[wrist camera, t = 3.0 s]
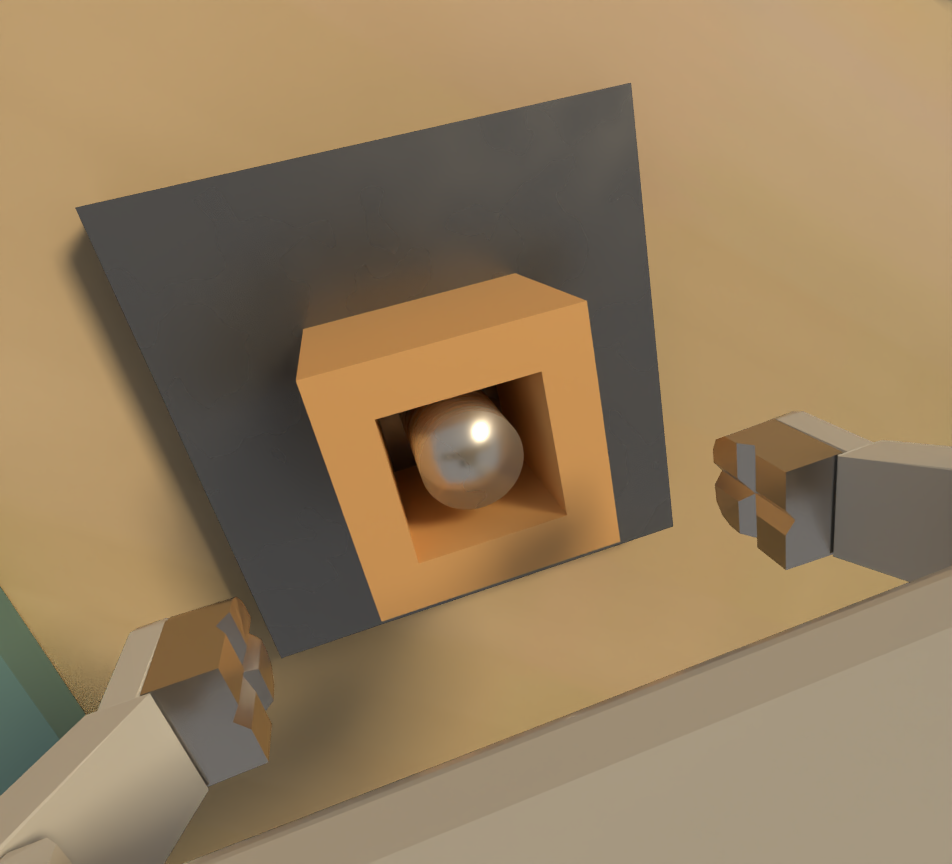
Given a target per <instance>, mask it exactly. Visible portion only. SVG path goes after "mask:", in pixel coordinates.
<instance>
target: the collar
mask: <svg viewBox="0 0 952 864" xmlns="http://www.w3.org/2000/svg"><path fill="white" fill-rule="evenodd" d="M296 383H297V385H298V388H299V391H300V394H301V397H302V399H303V402H304V405H305V408H306V411H307V414H308V416H309V419H310V422H311V425H312V428H313V430H314V433H315V436H316V439H317V442H318V444H319V447H320V450H321V453H322V456H323V458H324V461H325V464H326V467H327V470H328V472H329V475H330V478H331V481H332V484H333V487H334V489H335V492H336V495H337V498H338V501H339V503H340V506H341V509H342V512H343V515H344V517H345V520H346V523H347V526H348V529H349V531H350V534H351V537H352V540H353V543H354V545H355V548H356V551H357V554H358V557H359V560H360V562H361V565H362V568H363V571H364V574H365V576H366V579H367V582H368V585H369V588H370V590H371V593H372V596H373V599H374V602H375V604H376V607H377V610H378V613H379V616H380V619H381V621H385V620H388V619H391V618H394V617H397V616H400V615H403V614H406V613H409V612H412V611H415V610H418V609H421V608H424V607H427V606H430V605H433V604H436V603H439V602H442V601H445V600H448V599H451V598H454V597H457V596H460V595H463V594H466V593H469V592H472V591H475V590H478V589H481V588H484V587H487V586H490V585H493V584H496V583H499V582H501V581H504V580H507V579H510V578H513V577H516V576H519V575H522V574H525V573H528V572H531V571H534V570H537V569H540V568H543V567H546V566H549V565H552V564H555V563H558V562H561V561H564V560H567V559H570V558H573V557H576V556H579V555H582V554H585V553H588V552H591V551H594V550H597V549H600V548H603V547H606V546H609V545H612V544H615V543H618V542H620V536H619V528H618V521H617V514H616V507H615V500H614V493H613V485H612V478H611V471H610V464H609V457H608V449H607V442H606V435H605V428H604V421H603V413H602V406H601V399H600V392H599V385H598V377H597V370H596V363H595V356H594V349H593V341H592V334H591V327H590V320H589V313H588V305H587V301H586V300H584V299H581V298H578V297H576V296H573V295H571V294H568V293H565V292H563V291H560V290H558V289H555V288H552V287H550V286H547V285H545V284H542V283H539V282H537V281H534V280H532V279H529V278H526V277H524V276H521V275H519V274H516V273H514V274H510V275H507V276H503V277H499V278H495V279H491V280H488V281H484V282H480V283H476V284H472V285H469V286H465V287H461V288H457V289H453V290H450V291H446V292H442V293H438V294H435V295H431V296H427V297H423V298H419V299H416V300H412V301H408V302H404V303H400V304H397V305H393V306H389V307H385V308H381V309H378V310H374V311H370V312H366V313H362V314H359V315H355V316H351V317H347V318H344V319H340V320H336V321H332V322H328V323H325V324H321V325H317V326H313V327H309V328H306V329H303V334H302V341H301V348H300V355H299V362H298V369H297V376H296ZM493 385H496V387H497V392H498V397H499V401H500V406H501V411H502V414H503V416H504V417H505V418H506V419H507V420H508V422H509V423H510V424H511V425H512V426H513V428H514V429H515V430H516V432H517V433H518V435H519V437H520V439H521V442H522V445H523V452H524V460H523V466H522V470H521V473H520V475H519V477H518V479H517V481H516V483H515V484H514V485H513V487H512V488H511V489H510V490H509V491H508V492H507V493H506V494H505V495H504V496H503V497H502V498H500V499H499V500H497V501H496V502H494V503H492V504H490V505H487V506H485V507H481V508H477V509H456V508H452V507H449V506H446V505H444V504H442V503H441V502H439V501H438V500H436V499H435V498H434V497H433V496H432V495H431V494H430V493H429V492H428V490H427V489H426V487H425V485H424V483H423V481H422V478H421V475H420V472H419V469H418V467H417V465H416V466H413V467H410V468H406V469H403V470H400V471H396V472H394V469H393V466H392V462H391V459H390V456H389V453H388V449H387V446H386V443H385V440H384V436H383V433H382V430H381V426H380V423H379V420H378V419H379V418H382V417H386V416H389V415H393V414H396V413H400V412H403V411H407V410H410V409H413V408H417V407H420V406H424V405H427V404H431V403H434V402H438V401H441V400H445V399H448V398H452V397H455V396H458V395H462V394H465V393H469V392H472V391H476V390H479V389H483V388H486V387H490V386H493Z"/></svg>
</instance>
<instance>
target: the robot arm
mask: <svg viewBox="0 0 952 864" xmlns="http://www.w3.org/2000/svg"><path fill="white" fill-rule="evenodd" d="M713 456H714V463H715V464H716V465H717V466H718V467H719V468H720V469H721V470H722V472H721V474H720V476H719V478H718V480H717V481H716V483H715V490H716V500H717V503H718V506H719V508H720V510H721V513H722V515H723V517H724V518H725V519H726V521H727V522H728V523H729V525H730V526H731V527H733V528H734V529H735V530H736V531H737V532H739V533H740V534H744V535H748V536H752V537H756V538H757V547H758V548H759V549H760V550H761V551H762V552H764V553H765V554H766V555H767V556H769V557H770V558H771V559H773V560H774V561H775V562H776V563H778V564H779V565H780V566H781V567H783V568H784V569H785V570H787V569H790V568H793V567H796V566H799V565H802V564H805V563H808V562H811V561H814V560H817V559H820V558H823V557H826V556H829V555H832V554H833V556H834V557H837V558H840V559H843V560H846V561H849V562H851V563H854V564H857V565H860V566H863V567H866V568H869V569H872V570H875V571H878V572H881V573H884V574H887V575H890V576H893V577H896V578H899V579H902V580H905V581H908V582H909V583H906V584H903V585H901V586H898V587H896V588H893V589H890V590H888V591H885V592H883V593H880V594H878V595H875V596H872V597H870V598H867V599H865V600H862V601H859V602H857V603H854V604H852V605H849V606H846V607H844V608H841V609H839V610H836V611H834V612H831V613H828V614H826V615H823V616H821V617H818V618H815V619H813V620H810V621H808V622H805V623H803V624H800V625H797V626H795V627H792V628H790V629H787V630H784V631H782V632H779V633H777V634H774V635H772V636H769V637H766V638H764V639H761V640H759V641H756V642H753V643H751V644H748V645H746V646H743V647H741V648H738V649H735V650H733V651H730V652H728V653H725V654H722V655H720V656H717V657H715V658H712V659H710V660H707V661H704V662H702V663H699V664H697V665H694V666H692V667H689V668H686V669H684V670H681V671H679V672H676V673H674V674H671V675H668V676H666V677H663V678H661V679H658V680H656V681H653V682H650V683H648V684H645V685H643V686H640V687H638V688H635V689H633V690H630V691H627V692H625V693H622V694H620V695H617V696H615V697H612V698H609V699H607V700H604V701H602V702H599V703H597V704H594V705H591V706H589V707H586V708H584V709H581V710H579V711H576V712H574V713H571V714H568V715H566V716H563V717H561V718H558V719H555V720H553V721H550V722H548V723H545V724H543V725H540V726H537V727H535V728H532V729H530V730H527V731H524V732H522V733H519V734H517V735H514V736H512V737H509V738H506V739H504V740H501V741H499V742H496V743H494V744H491V745H488V746H486V747H483V748H481V749H478V750H475V751H473V752H470V753H468V754H465V755H463V756H460V757H457V758H455V759H452V760H450V761H447V762H444V763H442V764H439V765H437V766H434V767H432V768H429V769H426V770H424V771H421V772H419V773H416V774H413V775H411V776H408V777H406V778H403V779H401V780H398V781H395V782H393V783H390V784H388V785H385V786H383V787H380V788H377V789H375V790H372V791H370V792H367V793H364V794H362V795H359V796H357V797H354V798H352V799H349V800H346V801H344V802H341V803H339V804H336V805H333V806H331V807H328V808H326V809H323V810H321V811H318V812H315V813H313V814H310V815H308V816H305V817H303V818H300V819H297V820H295V821H292V822H290V823H287V824H284V825H282V826H279V827H277V828H274V829H272V830H269V831H266V832H264V833H261V834H259V835H256V836H253V837H251V838H248V839H246V840H243V841H241V842H238V843H235V844H233V845H230V846H228V847H225V848H222V849H220V850H217V851H215V852H212V853H210V854H207V855H204V856H202V857H199V858H197V859H194V860H192V861H189V862H186V863H184V864H952V447H950V446H940V445H930V444H919V443H909V442H898V441H888V440H881V441H878V442H875V443H874V442H871V441H869V440H867V439H864V438H862V437H860V436H858V435H855V434H853V433H851V432H849V431H846V430H844V429H842V428H840V427H837V426H835V425H833V424H831V423H828V422H826V421H824V420H821V419H819V418H817V417H815V416H812V415H810V414H808V413H806V412H803V411H792V412H790V413H787V414H784V415H782V416H779V417H776V418H774V419H771V420H768V421H766V422H763V423H761V424H758V425H755V426H752V427H750V428H747V429H744V430H741V431H738V432H736V433H733V434H730V435H727V436H724V437H722V438H719V439H716V441H715V445H714V448H713ZM250 621H251V617H250V615H249V613H248V611H247V609H246V607H245V605H244V603H243V602H242V601H241V600H240V599H238V598H237V597H234V598H231V599H227V600H224V601H221V602H218V603H214V604H211V605H208V606H205V607H202V608H198V609H195V610H192V611H189V612H185V613H182V614H179V615H176V616H172V617H170V618H165V619H162V620H159V621H156V622H153V623H150V624H148V625H145V626H142V627H139V628H137V629H135V630H133V631H132V632H130V634H129V636H128V638H127V640H126V643H125V645H124V648H123V650H122V652H121V655H120V657H119V660H118V662H117V664H116V667H115V669H114V671H113V674H112V676H111V679H110V681H109V683H108V686H107V688H106V691H105V693H104V695H103V698H102V700H101V703H100V705H99V707H98V710H97V711H96V712H93V713H90V714H88V715H85V716H84V717H83V718H82V719H81V720H80V721H79V722H78V723H77V724H76V725H75V726H73V727H72V728H71V729H70V730H69V731H68V732H67V733H66V734H65V735H64V736H63V737H62V738H61V739H60V740H59V741H58V742H57V743H56V744H55V745H53V746H52V747H51V748H50V749H49V750H48V751H47V752H46V753H45V754H44V755H43V756H42V757H41V758H40V759H39V760H38V761H37V762H36V763H35V764H34V765H32V766H31V767H30V768H29V769H28V770H27V771H26V772H25V773H24V774H23V775H22V776H21V777H20V778H19V779H18V780H17V781H16V782H15V783H14V784H12V785H11V786H10V787H9V788H8V789H7V790H6V791H5V792H4V793H3V794H2V795H1V796H0V864H164V863H165V861H166V860H167V858H168V856H169V855H170V853H171V851H172V850H173V848H174V846H175V845H176V843H177V841H178V840H179V838H180V837H181V835H182V833H183V832H184V830H185V828H186V827H187V825H188V823H189V822H190V820H191V818H192V817H193V815H194V813H195V812H196V810H197V808H198V807H199V805H200V804H201V802H202V800H203V799H204V797H205V795H206V794H207V792H208V790H209V789H208V786H211V785H213V784H216V783H218V782H221V781H223V780H226V779H228V778H231V777H233V776H236V775H238V774H240V773H243V772H245V771H248V770H250V769H253V768H255V767H258V766H260V765H263V764H265V763H268V762H269V753H270V740H271V728H272V723H271V721H270V719H269V717H268V715H267V713H266V710H267V708H268V707H269V706H270V704H271V703H272V702H273V700H274V678H273V671H272V665H271V662H270V659H269V656H268V653H267V650H266V648H265V646H264V644H263V642H262V639H260V638H258V637H256V636H253V635H251V634H249V628H250Z"/></svg>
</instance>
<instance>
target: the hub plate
mask: <svg viewBox="0 0 952 864" xmlns="http://www.w3.org/2000/svg"><path fill="white" fill-rule="evenodd" d="M85 715H86V714H85V713H84V711H83V710H82V708H81V707H80V705H79V704H78V702H77V701H76V699H75V698H74V696H73V695H72V693H71V692H70V690H69V689H68V687H67V686H66V684H65V683H64V681H63V680H62V678H61V677H60V675H59V674H58V672H57V671H56V669H55V668H54V666H53V665H52V663H51V662H50V660H49V659H48V657H47V656H46V654H45V653H44V651H43V650H42V648H41V647H40V645H39V644H38V642H37V641H36V639H35V638H34V636H33V635H32V633H31V632H30V630H29V629H28V627H27V626H26V624H25V623H24V621H23V620H22V618H21V617H20V615H19V614H18V612H17V611H16V609H15V608H14V606H13V605H12V603H11V602H10V600H9V599H8V597H7V596H6V594H5V593H4V591H3V590H2V588H1V587H0V796H1V795H2V794H3V793H4V792H5V791H6V790H7V789H8V788H9V787H10V786H11V785H12V784H14V783H15V782H16V781H17V780H18V779H19V778H20V777H21V776H22V775H23V774H24V773H25V772H26V771H27V770H28V769H29V768H30V767H31V766H32V765H34V764H35V763H36V762H37V761H38V760H39V759H40V758H41V757H42V756H43V755H44V754H45V753H46V752H47V751H48V750H49V749H50V748H51V747H52V746H53V745H55V744H56V743H57V742H58V741H59V740H60V739H61V738H62V737H63V736H64V735H65V734H66V733H67V732H68V731H69V730H70V729H71V728H72V727H73V726H75V725H76V724H77V723H78V722H79V721H80V720H81V719H82V718H83V717H84V716H85Z"/></svg>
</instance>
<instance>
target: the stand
mask: <svg viewBox="0 0 952 864" xmlns="http://www.w3.org/2000/svg"><path fill="white" fill-rule="evenodd" d="M76 210H77V212H78V215H79V217H80V219H81V221H82V223H83V226H84V228H85V230H86V232H87V234H88V236H89V239H90V241H91V243H92V245H93V247H94V250H95V252H96V254H97V256H98V258H99V261H100V263H101V265H102V267H103V269H104V271H105V274H106V276H107V278H108V280H109V282H110V285H111V287H112V289H113V291H114V293H115V295H116V298H117V300H118V302H119V304H120V306H121V309H122V311H123V313H124V315H125V317H126V319H127V322H128V324H129V326H130V328H131V330H132V333H133V335H134V337H135V339H136V341H137V344H138V346H139V348H140V350H141V352H142V354H143V357H144V359H145V361H146V363H147V365H148V368H149V370H150V372H151V374H152V376H153V378H154V381H155V383H156V385H157V387H158V389H159V392H160V394H161V396H162V398H163V400H164V403H165V405H166V407H167V409H168V411H169V413H170V416H171V418H172V420H173V422H174V424H175V427H176V429H177V431H178V433H179V435H180V437H181V440H182V442H183V444H184V446H185V448H186V451H187V453H188V455H189V457H190V459H191V462H192V464H193V466H194V468H195V470H196V472H197V475H198V477H199V479H200V481H201V483H202V486H203V488H204V490H205V492H206V494H207V496H208V499H209V501H210V503H211V505H212V507H213V510H214V512H215V514H216V516H217V518H218V521H219V523H220V525H221V527H222V529H223V531H224V534H225V536H226V538H227V540H228V542H229V545H230V547H231V549H232V551H233V553H234V555H235V558H236V560H237V562H238V564H239V566H240V569H241V571H242V573H243V575H244V577H245V580H246V582H247V584H248V586H249V588H250V590H251V593H252V595H253V597H254V599H255V601H256V604H257V606H258V608H259V610H260V612H261V614H262V617H263V619H264V621H265V623H266V625H267V628H268V630H269V632H270V634H271V636H272V639H273V641H274V643H275V645H276V647H277V649H278V652H279V654H280V656H281V658H283V657H286V656H289V655H292V654H295V653H298V652H301V651H304V650H307V649H310V648H313V647H316V646H319V645H322V644H325V643H328V642H331V641H334V640H337V639H340V638H343V637H345V636H348V635H351V634H354V633H357V632H360V631H363V630H366V629H369V628H372V627H375V626H378V625H381V624H384V623H387V622H390V621H393V620H396V619H399V618H402V617H405V616H408V615H411V614H414V613H417V612H420V611H423V610H426V609H429V608H432V607H435V606H438V605H441V604H444V603H447V602H450V601H453V600H456V599H459V598H462V597H464V596H467V595H470V594H473V593H476V592H479V591H482V590H485V589H488V588H491V587H494V586H497V585H500V584H503V583H506V582H509V581H512V580H515V579H518V578H521V577H524V576H527V575H530V574H533V573H536V572H539V571H542V570H545V569H548V568H551V567H554V566H557V565H560V564H563V563H566V562H569V561H572V560H575V559H578V558H581V557H583V556H586V555H589V554H592V553H595V552H598V551H601V550H604V549H607V548H610V547H613V546H616V545H619V544H622V543H625V542H628V541H631V540H634V539H637V538H640V537H643V536H646V535H649V534H652V533H655V532H658V531H661V530H664V529H667V528H670V527H673V520H672V509H671V499H670V488H669V478H668V467H667V457H666V446H665V436H664V425H663V415H662V404H661V393H660V383H659V372H658V362H657V351H656V341H655V330H654V320H653V309H652V299H651V288H650V278H649V267H648V257H647V246H646V235H645V225H644V214H643V204H642V193H641V183H640V172H639V162H638V151H637V141H636V130H635V120H634V109H633V98H632V88H631V83H628V84H623V85H619V86H614V87H610V88H606V89H601V90H597V91H592V92H588V93H583V94H579V95H574V96H570V97H566V98H561V99H557V100H552V101H548V102H543V103H539V104H534V105H530V106H526V107H521V108H517V109H512V110H508V111H503V112H499V113H494V114H490V115H485V116H481V117H477V118H472V119H468V120H463V121H459V122H454V123H450V124H445V125H441V126H437V127H432V128H428V129H423V130H419V131H414V132H410V133H405V134H401V135H397V136H392V137H388V138H383V139H379V140H374V141H370V142H365V143H361V144H357V145H352V146H348V147H343V148H339V149H334V150H330V151H325V152H321V153H317V154H312V155H308V156H303V157H299V158H294V159H290V160H285V161H281V162H276V163H272V164H268V165H263V166H259V167H254V168H250V169H245V170H241V171H236V172H232V173H228V174H223V175H219V176H214V177H210V178H205V179H201V180H196V181H192V182H188V183H183V184H179V185H174V186H170V187H165V188H161V189H156V190H152V191H148V192H143V193H139V194H134V195H130V196H125V197H121V198H116V199H112V200H108V201H103V202H99V203H94V204H90V205H85V206H81V207H76ZM514 273H516V274H519V275H521V276H524V277H526V278H529V279H532V280H534V281H537V282H539V283H542V284H545V285H547V286H550V287H552V288H555V289H558V290H560V291H563V292H565V293H568V294H571V295H573V296H576V297H578V298H581V299H584V300H586V301H587V305H588V313H589V320H590V327H591V334H592V341H593V349H594V356H595V363H596V370H597V377H598V385H599V392H600V399H601V406H602V413H603V421H604V428H605V435H606V442H607V449H608V457H609V464H610V471H611V478H612V485H613V493H614V500H615V507H616V514H617V521H618V528H619V536H620V542H618V543H615V544H612V545H609V546H606V547H603V548H600V549H597V550H594V551H591V552H588V553H585V554H582V555H579V556H576V557H573V558H570V559H567V560H564V561H561V562H558V563H555V564H552V565H549V566H546V567H543V568H540V569H537V570H534V571H531V572H528V573H525V574H522V575H519V576H516V577H513V578H510V579H507V580H504V581H501V582H499V583H496V584H493V585H490V586H487V587H484V588H481V589H478V590H475V591H472V592H469V593H466V594H463V595H460V596H457V597H454V598H451V599H448V600H445V601H442V602H439V603H436V604H433V605H430V606H427V607H424V608H421V609H418V610H415V611H412V612H409V613H406V614H403V615H400V616H397V617H394V618H391V619H388V620H385V621H381V619H380V616H379V613H378V610H377V607H376V604H375V602H374V599H373V596H372V593H371V590H370V588H369V585H368V582H367V579H366V576H365V574H364V571H363V568H362V565H361V562H360V560H359V557H358V554H357V551H356V548H355V545H354V543H353V540H352V537H351V534H350V531H349V529H348V526H347V523H346V520H345V517H344V515H343V512H342V509H341V506H340V503H339V501H338V498H337V495H336V492H335V489H334V487H333V484H332V481H331V478H330V475H329V472H328V470H327V467H326V464H325V461H324V458H323V456H322V453H321V450H320V447H319V444H318V442H317V439H316V436H315V433H314V430H313V428H312V425H311V422H310V419H309V416H308V414H307V411H306V408H305V405H304V402H303V399H302V397H301V394H300V391H299V388H298V385H297V383H296V376H297V369H298V362H299V355H300V348H301V341H302V334H303V329H306V328H309V327H313V326H317V325H321V324H325V323H328V322H332V321H336V320H340V319H344V318H347V317H351V316H355V315H359V314H362V313H366V312H370V311H374V310H378V309H381V308H385V307H389V306H393V305H397V304H400V303H404V302H408V301H412V300H416V299H419V298H423V297H427V296H431V295H435V294H438V293H442V292H446V291H450V290H453V289H457V288H461V287H465V286H469V285H472V284H476V283H480V282H484V281H488V280H491V279H495V278H499V277H503V276H507V275H510V274H514ZM378 420H379V423H380V426H381V430H382V433H383V436H384V440H385V443H386V446H387V449H388V453H389V456H390V459H391V462H392V466H393V469H394V472H396V471H400V470H403V469H406V468H410V467H413V466H416V465H417V467H418V469H419V472H420V475H421V478H422V481H423V483H424V485H425V487H426V489H427V490H428V492H429V493H430V494H431V495H432V496H433V497H434V498H435V499H436V500H438V501H439V502H441V503H442V504H444V505H446V506H449V507H452V508H456V509H477V508H481V507H485V506H487V505H490V504H492V503H494V502H496V501H497V500H499V499H500V498H502V497H503V496H504V495H505V494H506V493H507V492H508V491H509V490H510V489H511V488H512V487H513V485H514V484H515V483H516V481H517V479H518V477H519V475H520V473H521V470H522V466H523V460H524V452H523V445H522V442H521V439H520V437H519V435H518V433H517V432H516V430H515V429H514V428H513V426H512V425H511V424H510V423H509V422H508V420H507V419H506V418H505V417H504V416H503V414H502V411H501V406H500V401H499V397H498V392H497V387H496V385H493V386H490V387H486V388H483V389H479V390H476V391H472V392H469V393H465V394H462V395H458V396H455V397H452V398H448V399H445V400H441V401H438V402H434V403H431V404H427V405H424V406H420V407H417V408H413V409H410V410H407V411H403V412H400V413H396V414H393V415H389V416H386V417H382V418H379V419H378Z"/></svg>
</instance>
